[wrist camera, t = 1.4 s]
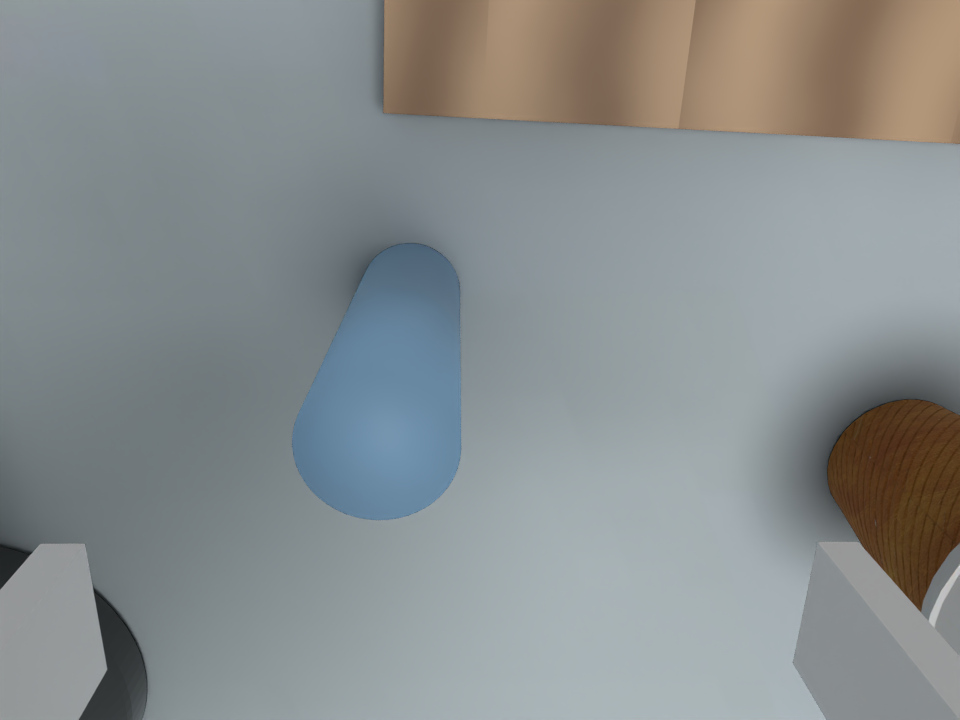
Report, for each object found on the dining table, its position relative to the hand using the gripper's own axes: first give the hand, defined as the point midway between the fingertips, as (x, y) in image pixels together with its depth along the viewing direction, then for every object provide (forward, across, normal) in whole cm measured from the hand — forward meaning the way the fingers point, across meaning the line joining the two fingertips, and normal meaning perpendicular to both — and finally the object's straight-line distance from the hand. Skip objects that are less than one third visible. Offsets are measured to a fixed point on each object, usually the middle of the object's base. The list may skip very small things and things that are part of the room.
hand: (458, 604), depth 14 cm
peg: (+19, -2, +1) cm, 19 cm away
